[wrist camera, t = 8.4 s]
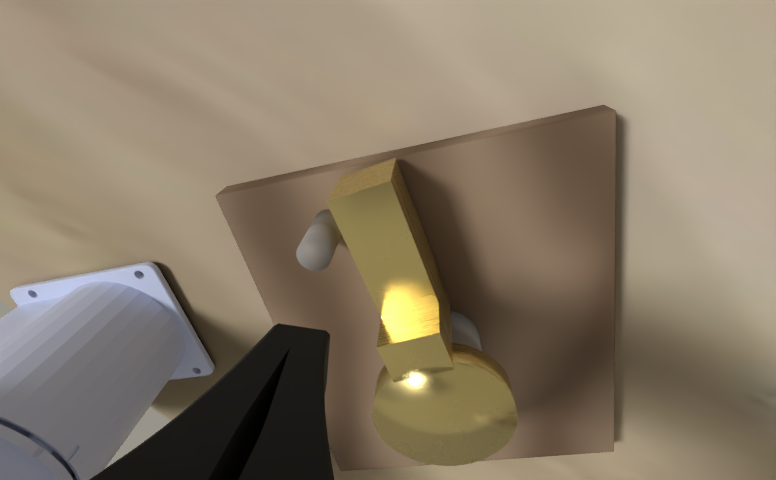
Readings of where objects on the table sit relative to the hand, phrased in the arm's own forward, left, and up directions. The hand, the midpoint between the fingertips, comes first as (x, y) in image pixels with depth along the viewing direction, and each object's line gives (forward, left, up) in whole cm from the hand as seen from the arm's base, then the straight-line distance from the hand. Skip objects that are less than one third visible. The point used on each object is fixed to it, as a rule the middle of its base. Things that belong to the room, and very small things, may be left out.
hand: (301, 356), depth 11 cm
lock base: (+2, -8, -10) cm, 13 cm away
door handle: (+2, -4, -9) cm, 10 cm away
